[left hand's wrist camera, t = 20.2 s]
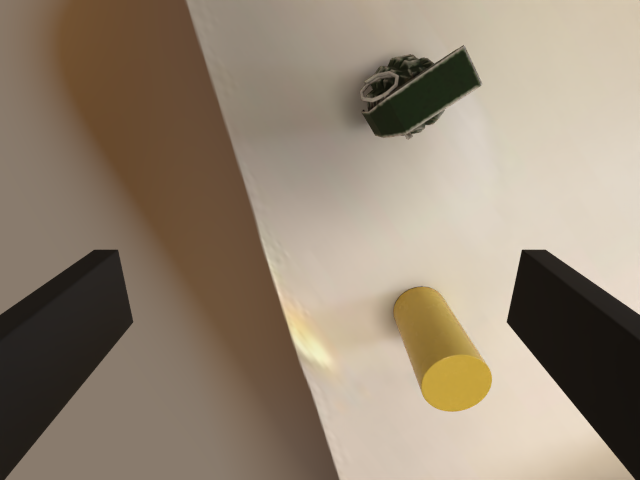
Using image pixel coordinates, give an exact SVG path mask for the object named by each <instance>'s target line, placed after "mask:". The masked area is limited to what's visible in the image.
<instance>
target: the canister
mask: <svg viewBox="0 0 640 480" xmlns="http://www.w3.org/2000/svg"><path fill="white" fill-rule="evenodd" d="M394 318H395V321H396V324H397V326H398V329H399V332H400V334H401V337H402V340H403V343H404V345H405V348H406V351H407V354H408V356H409V359H410V362H411V364H412V367H413V370H414V373H415V375H416V378H417V381H418V383H419V386H420V389H421V392H422V394H423V396H424V398H425V400H426V401H427V402H428V403H429V404H430V405H432V406H433V407H435V408H437V409H439V410H443V411H452V412H453V411H461V410H465V409H468V408H470V407H472V406H474V405H476V404H478V403H479V402H480V401H481V400H482V399H483V398H484V397H485V396H486V395H487V393H488V392H489V390H490V387H491V383H492V375H491V372H490V369H489V367H488V366H487V364H486V363H485V361H484V360H483V358H482V357H481V355H480V354H479V352H478V351H477V349H476V347H475V346H474V344H473V343H472V341H471V340H470V338H469V337H468V335H467V334H466V332H465V331H464V329H463V328H462V326H461V324H460V323H459V321H458V320H457V318H456V317H455V315H454V314H453V312H452V311H451V309H450V308H449V306H448V305H447V303H446V302H445V300H444V298H443V297H442V296H441V294H440V293H438V292H437V291H436V290H434V289H431V288H427V287H417V288H413V289H410V290H408V291H406V292H405V293H403V294H402V295H401V296H400V297H399V298H398V300H397V301H396V303H395V306H394Z"/></svg>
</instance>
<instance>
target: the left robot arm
mask: <svg viewBox="0 0 640 480" xmlns="http://www.w3.org/2000/svg"><path fill="white" fill-rule="evenodd" d="M132 323H133V319H132V314H131V309H130V304H129V300H128V295H127V290H126V285H125V281H124V276H123V271H122V266H121V262H120V257H119V252H118V250H93V251H92V252H90V253H89V254H88V255H86V256H85V257H83V258H82V259H80V260H79V261H77V262H76V263H75V264H73V265H72V266H70V267H69V268H67V269H66V270H64V271H63V272H62V273H60V274H59V275H57V276H56V277H54V278H53V279H51V280H50V281H49V282H47V283H46V284H44V285H43V286H41V287H40V288H38V289H37V290H36V291H34V292H33V293H31V294H30V295H28V296H27V297H25V298H24V299H23V300H21V301H20V302H18V303H17V304H15V305H14V306H12V307H11V308H10V309H8V310H7V311H5V312H4V313H2V314H1V315H0V480H5V478H6V477H7V476H8V475H9V474H10V472H11V471H12V470H13V469H14V467H15V466H16V465H17V464H18V463H19V461H20V460H21V459H22V458H23V456H24V455H25V454H26V453H27V452H28V450H29V449H30V448H31V447H32V445H33V444H34V443H35V442H36V441H37V439H38V438H39V437H40V436H41V434H42V433H43V432H44V431H45V430H46V428H47V427H48V426H49V425H50V423H51V422H52V421H53V420H54V419H55V417H56V416H57V415H58V414H59V412H60V411H61V410H62V409H63V407H64V406H65V405H66V404H67V403H68V401H69V400H70V399H71V398H72V396H73V395H74V394H75V393H76V391H77V390H78V389H79V388H80V387H81V385H82V384H83V383H84V382H85V381H86V379H87V378H88V377H89V376H90V374H91V373H92V372H93V371H94V370H95V368H96V367H97V366H98V365H99V363H100V362H101V361H102V360H103V359H104V357H105V356H106V355H107V354H108V352H109V351H110V350H111V349H112V348H113V346H114V345H115V344H116V343H117V341H118V340H119V339H120V338H121V337H122V335H123V334H124V333H125V332H126V330H127V329H128V328H129V327H130V325H131V324H132ZM507 323H508V324H509V326H510V327H511V328H512V329H513V330H514V332H515V333H516V334H517V335H518V337H519V338H520V339H521V340H522V341H523V343H524V344H525V345H526V346H527V348H528V349H529V350H530V351H531V352H532V354H533V355H534V356H535V357H536V359H537V360H538V361H539V362H540V363H541V365H542V366H543V367H544V368H545V370H546V371H547V372H548V373H549V374H550V376H551V377H552V378H553V379H554V381H555V382H556V383H557V384H558V385H559V387H560V388H561V389H562V390H563V392H564V393H565V394H566V395H567V396H568V398H569V399H570V400H571V401H572V403H573V404H574V405H575V406H576V408H577V409H578V410H579V411H580V412H581V414H582V415H583V416H584V417H585V419H586V420H587V421H588V422H589V423H590V425H591V426H592V427H593V428H594V430H595V431H596V432H597V433H598V434H599V436H600V437H601V438H602V439H603V441H604V442H605V443H606V444H607V445H608V447H609V448H610V449H611V450H612V452H613V453H614V454H615V455H616V456H617V458H618V459H619V460H620V461H621V463H622V464H623V465H624V466H625V467H626V469H627V470H628V471H629V472H630V474H631V475H632V476H633V477H634V478H635V480H640V315H639V314H638V313H636V312H635V311H633V310H632V309H630V308H629V307H628V306H626V305H625V304H623V303H622V302H620V301H619V300H617V299H616V298H615V297H613V296H612V295H610V294H609V293H607V292H606V291H604V290H603V289H602V288H600V287H599V286H597V285H596V284H594V283H593V282H591V281H590V280H589V279H587V278H586V277H584V276H583V275H581V274H580V273H578V272H577V271H576V270H574V269H573V268H571V267H570V266H568V265H567V264H565V263H564V262H563V261H561V260H560V259H558V258H557V257H555V256H554V255H552V254H551V253H550V252H548V251H547V250H522V252H521V257H520V262H519V266H518V271H517V276H516V281H515V285H514V290H513V295H512V300H511V304H510V309H509V314H508V319H507Z"/></svg>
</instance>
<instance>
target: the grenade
mask: <svg viewBox="0 0 640 480" xmlns="http://www.w3.org/2000/svg"><path fill="white" fill-rule="evenodd" d="M364 83H365V85H364V87H363V88H362V89H361V90H360V96H361V100H362V101H367V105H368V112H365V111H364V110H363V111H362V114H363V115H364V117H365V119H366V120H367V122H368V124H369V125H370V127H371V129H372V131H373V132H374V134H375V136H379V137H383V138H385V137H394V136H399V135H402V136H404V135H405V136H406V138H407V139H410V138H411V137H413V136H412V134H414V133H419V132H421V131H422V130H423V129H424V128H425V125H431V124H434V123H435V121H437V120H438V119H439V117H440V116H441V115H442V113H443V112H444V111H445V110H444V109H446V108H447V107H449V106H451V105H452V104H454V103H455V102H457V101H458V100H460V99H461V98H463V97H464V96H466V95H467V94H469V93H471V92H472V91H474V90H475V89H477V88H478V87H480V86H481V85H482V82H481V80H480V78H479V76H478V74H477V71H476V69H475V67H474V65H473V63H472V61H471V59H470V56H469V54H468V52H467V50H466V48H465V46H464V45H463V46H462V47H460V48H459V49H457V50H455V51H453V52H452V53H450V54H449V55H447V56H446V57H444V58H443V59H441V60H440V61H438V62H436V63H435V64H434V63H433V62H432V61H430V60H429V59H428V58H425V57H424V58H421V59H417V58H416V57H415V56H414V55H411V54H410V55H405V56H400V57H395V58H392V59H391V60H390V62H389V65H388V67H385V66H381V67H379V68H378V70H377V71H376V73H375V74H374V76H372V77H370V78H369V79H367V80H366V81H364ZM370 84H371V87H372V89H373V90H372V91H371V92H370V93H369V94H368V95H367V96H366V97H364V94H363V92H364V91H365V90H366V89H367V87H368V86H369V85H370Z"/></svg>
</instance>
